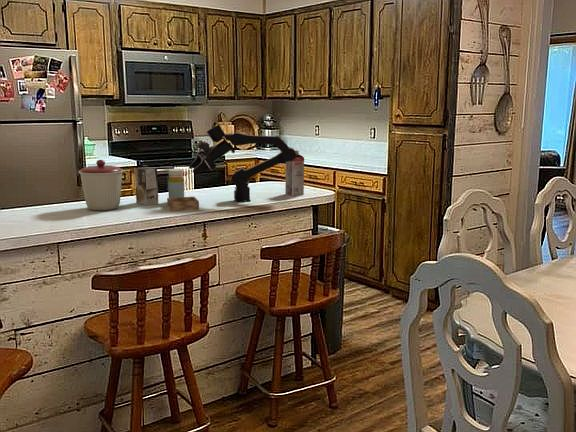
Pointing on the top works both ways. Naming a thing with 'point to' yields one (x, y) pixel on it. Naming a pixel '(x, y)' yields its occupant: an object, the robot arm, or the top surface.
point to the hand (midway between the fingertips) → (191, 170)
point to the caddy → (182, 203)
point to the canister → (101, 186)
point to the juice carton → (295, 176)
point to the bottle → (175, 183)
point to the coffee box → (146, 185)
